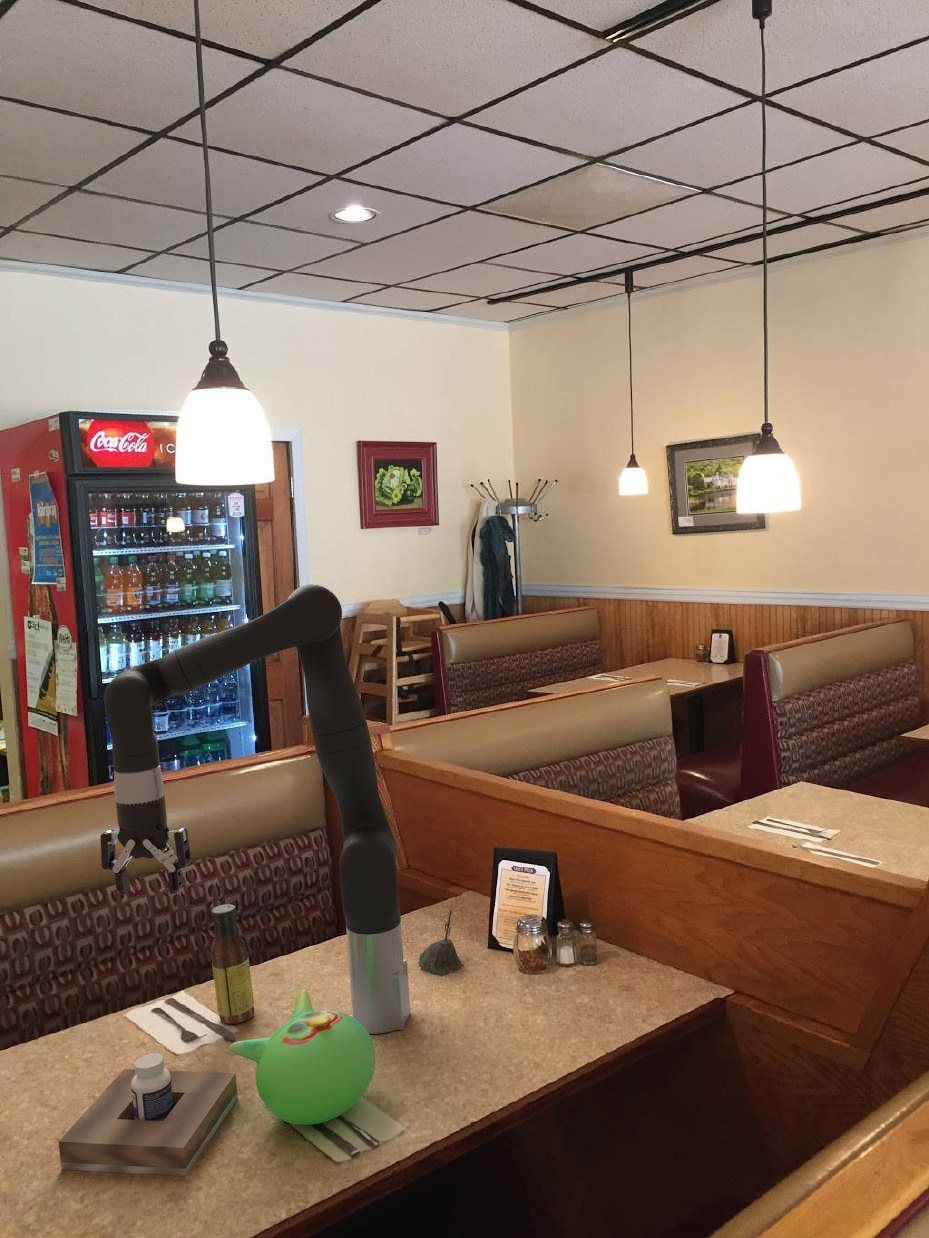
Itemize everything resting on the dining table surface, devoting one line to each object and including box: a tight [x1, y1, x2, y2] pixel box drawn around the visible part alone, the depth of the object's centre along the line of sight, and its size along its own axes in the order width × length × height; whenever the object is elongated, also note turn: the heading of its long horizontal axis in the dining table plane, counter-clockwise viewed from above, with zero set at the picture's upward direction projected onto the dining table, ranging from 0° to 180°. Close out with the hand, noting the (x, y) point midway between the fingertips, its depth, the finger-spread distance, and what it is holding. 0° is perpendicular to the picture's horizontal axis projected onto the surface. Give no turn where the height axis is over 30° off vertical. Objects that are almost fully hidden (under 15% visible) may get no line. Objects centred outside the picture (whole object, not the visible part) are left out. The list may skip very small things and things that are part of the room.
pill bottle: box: [131, 1053, 174, 1121], centre depth 145 cm, size 5×5×10 cm
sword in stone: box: [418, 909, 465, 978], centre depth 194 cm, size 10×8×12 cm
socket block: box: [58, 1068, 239, 1177], centre depth 145 cm, size 18×18×4 cm
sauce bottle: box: [210, 903, 255, 1025], centre depth 177 cm, size 7×6×20 cm
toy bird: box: [229, 989, 376, 1126], centre depth 148 cm, size 18×17×15 cm
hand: (149, 892), depth 165 cm, fingers open, 8 cm apart
